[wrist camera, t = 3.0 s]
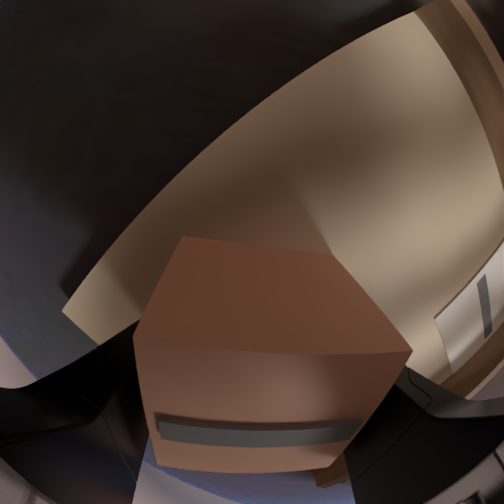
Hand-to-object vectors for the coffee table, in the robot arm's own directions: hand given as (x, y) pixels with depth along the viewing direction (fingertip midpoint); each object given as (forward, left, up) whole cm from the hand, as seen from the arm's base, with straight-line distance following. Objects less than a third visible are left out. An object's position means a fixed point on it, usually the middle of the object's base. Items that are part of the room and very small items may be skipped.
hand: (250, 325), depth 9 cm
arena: (-5, -4, -2) cm, 7 cm away
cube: (0, 0, -1) cm, 1 cm away
